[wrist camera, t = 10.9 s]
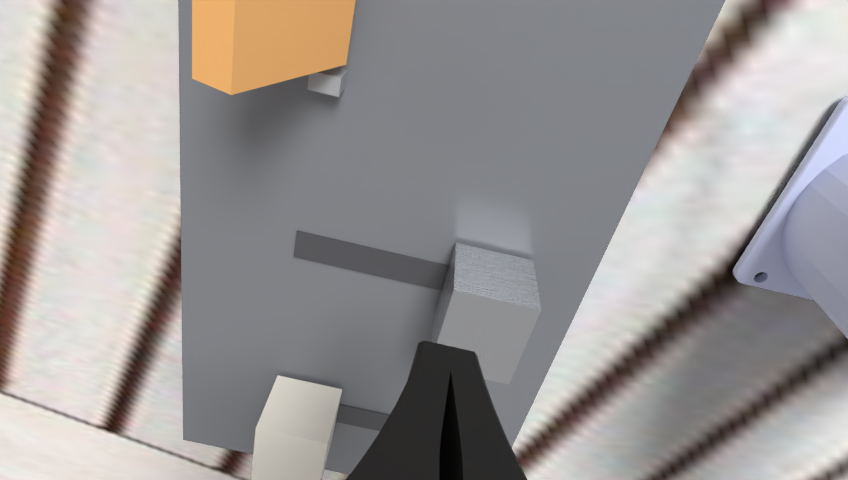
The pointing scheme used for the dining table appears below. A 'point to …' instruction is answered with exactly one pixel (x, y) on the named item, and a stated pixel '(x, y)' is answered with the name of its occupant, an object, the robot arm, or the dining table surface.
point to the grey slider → (488, 308)
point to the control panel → (410, 194)
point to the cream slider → (295, 431)
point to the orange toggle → (267, 40)
